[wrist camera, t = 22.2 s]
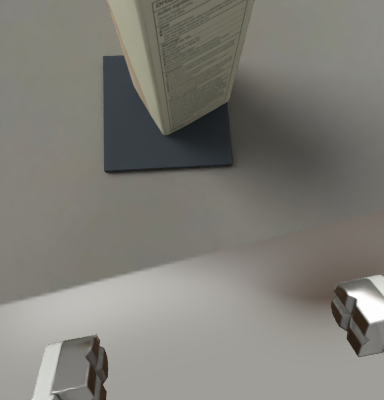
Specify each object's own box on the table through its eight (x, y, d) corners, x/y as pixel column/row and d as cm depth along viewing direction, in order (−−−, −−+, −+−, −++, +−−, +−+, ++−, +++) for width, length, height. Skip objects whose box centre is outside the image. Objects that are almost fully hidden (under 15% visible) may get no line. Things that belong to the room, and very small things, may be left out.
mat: (232, 165, 20) (232, 164, 20) (105, 172, 20) (104, 171, 19) (221, 54, 21) (222, 51, 21) (104, 58, 21) (103, 56, 21)
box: (197, 51, 21) (212, -174, 10) (231, 102, 20) (286, -81, 10) (128, 87, 20) (66, -115, 10) (161, 140, 20) (133, -10, 9)
